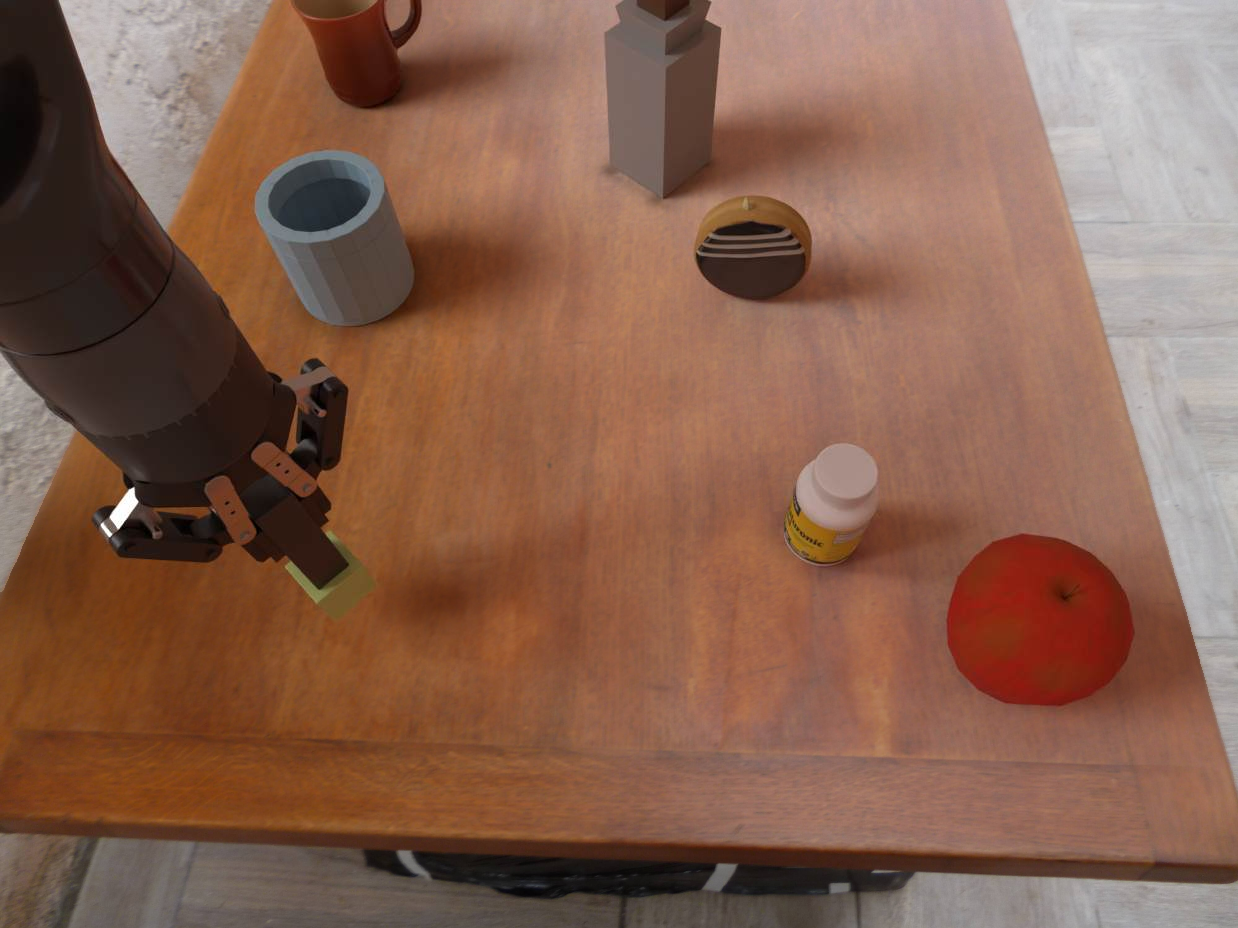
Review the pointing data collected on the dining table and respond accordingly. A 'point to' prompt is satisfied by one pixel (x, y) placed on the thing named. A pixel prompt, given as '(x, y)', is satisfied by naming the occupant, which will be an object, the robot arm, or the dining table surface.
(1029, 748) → the dining table surface
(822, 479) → the supplement bottle
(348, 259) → the gray tumbler
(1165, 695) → the dining table surface
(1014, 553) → the apple
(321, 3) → the mug
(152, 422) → the robot arm
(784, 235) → the doughnut
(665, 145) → the perfume bottle
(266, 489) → the brush
